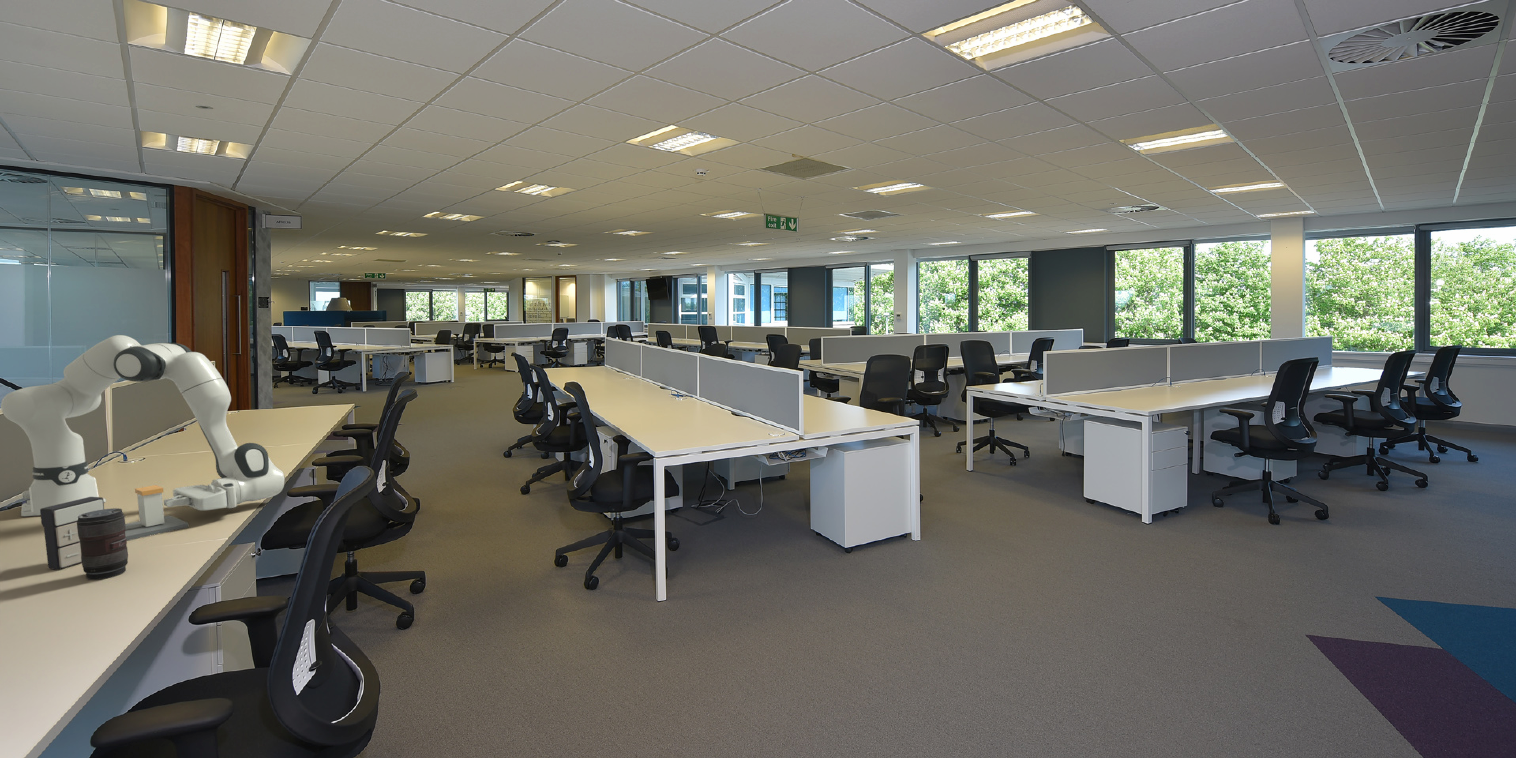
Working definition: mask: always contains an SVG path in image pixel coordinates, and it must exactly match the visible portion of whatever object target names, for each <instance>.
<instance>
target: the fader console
mask: <svg viewBox="0 0 1516 758" xmlns="http://www.w3.org/2000/svg"><path fill="white" fill-rule="evenodd" d="M164 522H165V523H163V524H158V525H153V526H148V527H146V526H144V525H142V524H140V520H138V521H133V522H128V523H125V525H126V528H125V529H126V531H125V536H126V540H127V541H132V540H136V539H141V538H140V537H142V538H145V537H146V538H147V537H150V535H151V536H155V535H158V533H160V534H163V533H169V532H173V530H174V531H179V530H183V529H187V528H189V527H190V526H189V523H188V522H186V521H184V520H182V519H180V518H178V517H175V516H172V515H170V514H167V515H164ZM154 534H155V535H154Z"/></svg>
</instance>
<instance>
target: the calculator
mask: <svg viewBox="0 0 1516 758" xmlns="http://www.w3.org/2000/svg"><path fill="white" fill-rule="evenodd" d="M103 509H105V502H104V501H103V497H101V496H99V497H87V498H83V499H79V500H75V501H70V502H66V503H62V504H58V505H54V506H49V507H45V508H42V509H40V514H41V515H40V520H41V521H40V522H41V525H42V527H43V531H44V532H43V533H44V540H45V541H44V542H45V550H46V551H45V552H46V558H47V559H46V560H47V567H48V569H49V570H56V571H59V570H60V571H61V570H64V569H66V568H70V567H73V566H76V565H79V564H82V561H81V547H80V540H79V537H78V530H77V520H78V516H79V515H81V514H84V513H87V512H92V511H97V510H103Z"/></svg>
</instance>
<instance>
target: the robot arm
mask: <svg viewBox="0 0 1516 758" xmlns="http://www.w3.org/2000/svg"><path fill="white" fill-rule="evenodd" d="M63 376H64V377H63V378H62V379H61V380H58V381H56V382H54V383H49V384H41V385H33V386H27V387H23V388H19V389H17V390H14V391H11V392H9V393H7V394H6V395H4V397H3V398H2V400H1V403H0V409H1V412H2V414H3V416H4V417H5V418H6V419H7V420H8V421H10V422H12V423H15V424H16V425H18V426H19V427H20V428H21V429H22V430H23V431H24V433H25V434H26V436H27V438H28V440H29V442H30V446H31V453H32V458H33V467H32V472H31V473H32V479H33V481H32V483H31V485H30V487H28V490H25V491H22V492H21V494H22V499H23V500H26V501H25V502H24V503H22V504H21V511H20V517H32V516H33V517H35V516H41V514H40V509H42V508H45V507H49V506H54V505H58V504H62V503H66V502H70V501H75V500H79V499H83V498H87V497H100V495H99V490H98V485H97V479H96V477H94V476H92V475H90V474H89V464H88V461H87V460H86V455H85V445H84V439H83V436H81V434H79V433H77V432H74V431H73V430H71V428H70V427H69V426H68V424H67V422H66V419H69V418H76V417H81V416H83V415H85V414H89V413H91V412H93V411H95V410H97V409H98V408H99V407H100V405H101V402H102V393H103V392H105V390H106V389H108V388H109V387H111V386H112V385H113V384H115V383H116V382H117V381H118V380H120V379H123V380H125V381H130V382H136V383H143V382H144V383H145V382H151V381H158V380H159V381H160V380H164V379H167V380H170V381H172V382H173V383H174V384H175V386H176V388H177V389H178V391H179V393H180V394H181V396H182V397H183V399H184V400H185V402H186V404H187V406H188V407H189V408H190V410H191V412H192V413H193V416H194V418H195V420H196V421H197V423H198V425H199V427H200V430H201V432H202V434H203V435H204V437H205V439H206V441H207V443H208V445H209V447H210V449H211V451H212V453H213V455H214V457H215V458H214V459H215V469H216V474H217V476H219V478H216V479H213V480H212V481H211V483H210V484H207V485H206V484H197V485H195V484H194V485H187V486H181V487H176V488H173V490H172V494H173V496H172V497H170V498H165V499H163V506H165V507H168V508H172V507H181V506H188V507H190V508H193V509H195V510H198V511H211V510H218V509H225V508H226V509H232V508H233V509H234V508H237V506H238V505H240V504H242V503H245V502H257V501H261V500H265V499H268V498H271V497H274V496H275V497H276V496H277V495H279V494H280V493H281V492H282V491H283V490H284V487H285V483H286V479H285V478H286V477H285V473H284V471H282V470H281V469H280V468H278V467H277V466H276V465H275V463H273V462H272V460H271V458H270V457H269V454H268V451H267V449H266V448H265V447H264V446H262V445H261V444H258V443H256V442H248V443H243V444H241V445H239V446H238V445H237V442H236V440H235V438H234V437H233V434H232V433H231V431H230V428H229V427H228V424H227V414H228V409H229V407H230V405H231V402H232V396H231V393H230V390H229V387H228V385H227V383H226V381H225V380H224V378H223V377H222V375H221V373H220V372H219V370H218V369H217V368H216V366H215V365H213V363H212V362H211V360H209V358H207V356H206V355H205V354H203V353H201V352H197V351H192V350H191V349H190V348H189V347H188V346H186V345H184V344H181V343H177V342H163V343H162V342H160V343H159V342H158V343H156V342H155V343H149V344H144V345H143V344H140V343H139V342H138V341H137V340H136V339H135V338H133V337H130V336H128V335H124V334H122V335H121V334H117V335H111V336H110V337H108V338H106V339H104V340H102V341H100V342H98V343H96V344H95V345H93V346H91V347H90V348H88V349H87V350H86V351H84V352H83V353H82V354H80V355H79V356H78V357H77V358H75V359H74V360H72V361H71V362H70V363H69V364H67V365H66V366H65V367H64V368H63ZM102 498H103V497H102ZM103 501H104V503H106V502H107V500H106V498H103Z"/></svg>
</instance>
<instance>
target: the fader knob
mask: <svg viewBox="0 0 1516 758" xmlns="http://www.w3.org/2000/svg"><path fill="white" fill-rule="evenodd" d="M134 493H135V494H136V495H137V505H138V516H139V521H140V524H142V525H144V526H146V527H148V526H153V525H158V524H163V523H165V522H164V516H165V513H164V502H163V501H164V499H163V493H164V487H161V486H159V485H156V484H154V485H148V486H143V487H136V488H134Z"/></svg>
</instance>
